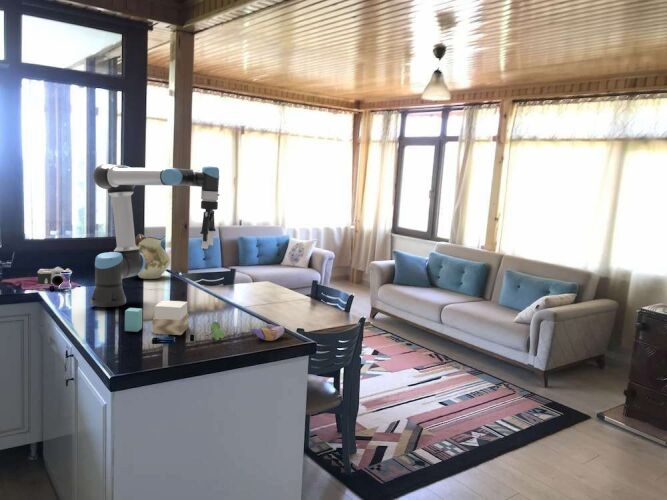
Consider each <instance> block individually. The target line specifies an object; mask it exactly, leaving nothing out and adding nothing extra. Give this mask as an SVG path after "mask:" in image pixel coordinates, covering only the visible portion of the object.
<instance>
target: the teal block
mask: <svg viewBox="0 0 667 500" xmlns="http://www.w3.org/2000/svg"><path fill="white" fill-rule="evenodd" d="M142 329H143V308H137V307H128V308H127V309H126V310H125V311H124V332H135V333H137V332H139V331H140V330H142Z"/></svg>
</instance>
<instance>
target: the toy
mask: <svg viewBox="0 0 667 500" xmlns="http://www.w3.org/2000/svg"><path fill="white" fill-rule="evenodd" d="M266 326H267V327H260V328H253V327H251V328H250V331H252V332H253V333H255V335H256V336H257V337H258V338H259V339H261V340H263V341H268V342H269V341H270V342H271V341H272V342H273V341H275V340H278V339H279V338H280V337H281V336H283V335H284V334H285V333H286V332H287V329H286V328H285V326H284V325H278V326H276V325H274V324H272V323H271V324H270V323H269V324H266Z"/></svg>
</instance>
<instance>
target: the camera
mask: <svg viewBox="0 0 667 500" xmlns="http://www.w3.org/2000/svg"><path fill="white" fill-rule="evenodd" d="M60 272H71V273H72V270H71V269H70V268H66V269H65V270H64V269H63V268H62V267H60V266H56V267H54V268H40V269H38V270H37V272H36V273H37V286H38V285H50V284H53V285H52V286H56V287H57V286H58V287H59V285H60V284H61V283H62V282H63V281H64V280H63V277H62V276H61V275H60ZM70 283H71V284H72V275H71V276H70ZM50 286H51V285H50ZM60 286H61V285H60Z"/></svg>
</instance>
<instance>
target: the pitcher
mask: <svg viewBox="0 0 667 500" xmlns="http://www.w3.org/2000/svg"><path fill="white" fill-rule="evenodd" d="M165 237H166V236H163V237H161V238H157V237H153V236H147V237H146V236H145V235H144V234H142V233H138V234H137V236H135V244H136V246H137V247H138V248H139V251H140V253H141V254H142V255H143V256H144V258H145V268H144V270H143V271H142V272H141V273H140V274H138V275H137V276H138V278H140V279H146V280H153V279H154V280H156V279H160V278H161V277H162V275H163V274H164V273H165V272H166V271H167V269H168V268H169V267H170V264H171V257H170V256H169V254H168V252H167V251H166V250H165V248H163V247H162V241H163V240H164V239H165Z"/></svg>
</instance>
